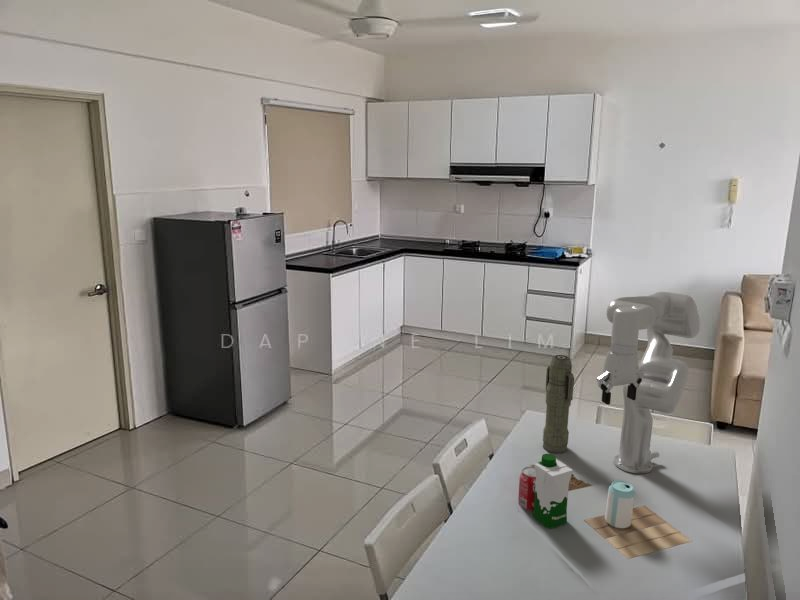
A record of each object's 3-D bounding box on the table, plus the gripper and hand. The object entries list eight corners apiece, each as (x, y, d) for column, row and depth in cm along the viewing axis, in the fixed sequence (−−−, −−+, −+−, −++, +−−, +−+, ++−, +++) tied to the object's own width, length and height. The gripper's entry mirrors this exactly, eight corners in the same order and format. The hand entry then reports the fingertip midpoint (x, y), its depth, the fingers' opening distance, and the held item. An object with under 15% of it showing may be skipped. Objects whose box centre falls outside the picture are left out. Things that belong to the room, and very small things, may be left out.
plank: (644, 508, 184) (644, 505, 184) (666, 525, 176) (666, 521, 176) (583, 523, 176) (584, 519, 176) (604, 542, 168) (604, 537, 168)
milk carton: (550, 511, 183) (555, 450, 178) (572, 527, 175) (577, 463, 170) (527, 518, 179) (531, 456, 174) (548, 535, 171) (553, 470, 166)
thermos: (560, 457, 215) (567, 364, 207) (534, 445, 224) (540, 355, 216) (575, 450, 221) (583, 359, 212) (549, 438, 230) (556, 350, 222)
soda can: (543, 504, 186) (546, 468, 184) (538, 516, 180) (541, 479, 177) (521, 498, 189) (523, 463, 187) (515, 510, 183) (517, 474, 180)
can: (611, 512, 180) (616, 476, 177) (634, 523, 175) (640, 486, 172) (600, 522, 175) (604, 485, 172) (623, 533, 170) (628, 495, 167)
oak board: (667, 526, 176) (667, 522, 175) (691, 544, 167) (692, 540, 167) (605, 542, 168) (605, 538, 168) (627, 562, 160) (628, 558, 159)
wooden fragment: (606, 493, 193) (606, 490, 193) (583, 504, 187) (583, 501, 187) (544, 460, 214) (544, 458, 214) (522, 469, 208) (522, 466, 208)
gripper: (637, 341, 191) (632, 393, 195) (592, 347, 185) (587, 400, 189) (655, 348, 184) (649, 401, 188) (608, 354, 178) (603, 409, 182)
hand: (618, 400), depth 188 cm, fingers open, 9 cm apart
